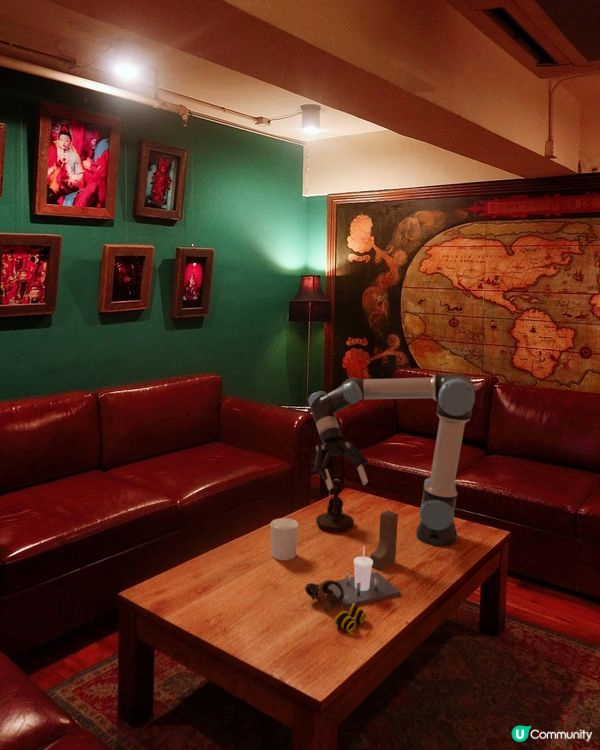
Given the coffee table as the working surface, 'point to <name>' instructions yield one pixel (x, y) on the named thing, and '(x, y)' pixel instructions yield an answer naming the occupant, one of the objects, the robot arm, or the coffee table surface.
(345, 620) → the opera glasses
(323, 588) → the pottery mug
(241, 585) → the coffee table surface
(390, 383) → the robot arm
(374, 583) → the cup stand
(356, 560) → the beverage cup
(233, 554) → the coffee table surface
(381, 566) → the wooden block
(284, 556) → the candle holder
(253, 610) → the coffee table surface
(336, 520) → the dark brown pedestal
